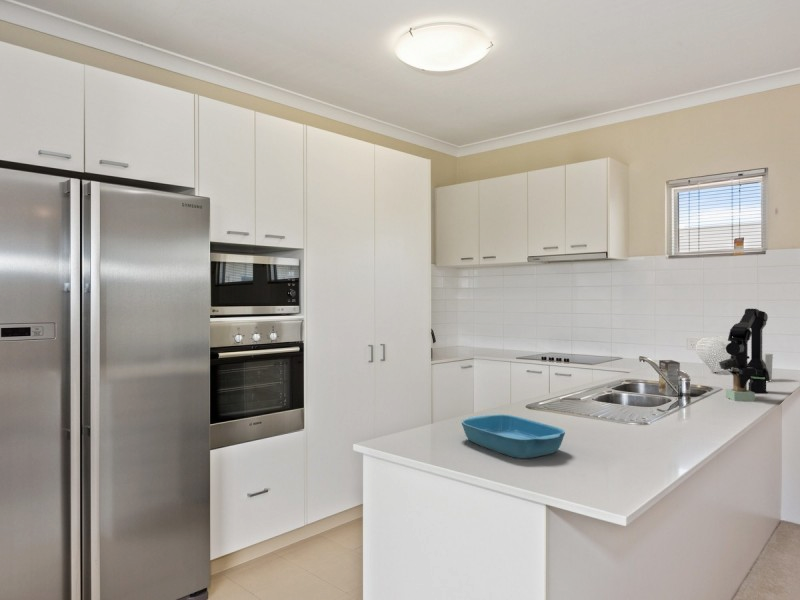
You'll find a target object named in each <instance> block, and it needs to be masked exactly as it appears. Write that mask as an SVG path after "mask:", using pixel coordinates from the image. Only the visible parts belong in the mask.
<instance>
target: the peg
mask: <svg viewBox="0 0 800 600" xmlns="http://www.w3.org/2000/svg"><path fill="white" fill-rule="evenodd" d="M732 377H733V379H732V380H733V381H732V383H733V388H732V389H733V391H736V392H747V390H748V389H747V388H748V382H747V383H746V385H745V387H744V388H741V386H740V379H739V376H738V375H737V374H733V375H732Z"/></svg>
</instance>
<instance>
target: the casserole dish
mask: <svg viewBox="0 0 800 600" xmlns="http://www.w3.org/2000/svg"><path fill="white" fill-rule="evenodd" d="M461 425H462V428H463V431H464V433H465V436H466V438H467V439H468V440H469V441H470V442H471V443H473V444H475V445H479V446H481V447H483V448H486V449H488V450H492V451H494V452H497V453H500V454H502V455H505V456H509V457H512V458H516V459H530V458H537V457H541V456H542V457H543V456H547V455H551V454H554V453H555V452H557V451H558V450H559V449H560V447H561V446H562V443H563V440H564V436H565V434H566V430H564V429H562V428H560V427H557V426H554V425H549V424H546V423H542V422H539V421H535V420H532V419H527V418H524V417H521V416H520V417H519V416H516V415H513V414H501V413H499V414H481V415H474V416H470V417H467V418H465V419H462V420H461Z"/></svg>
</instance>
